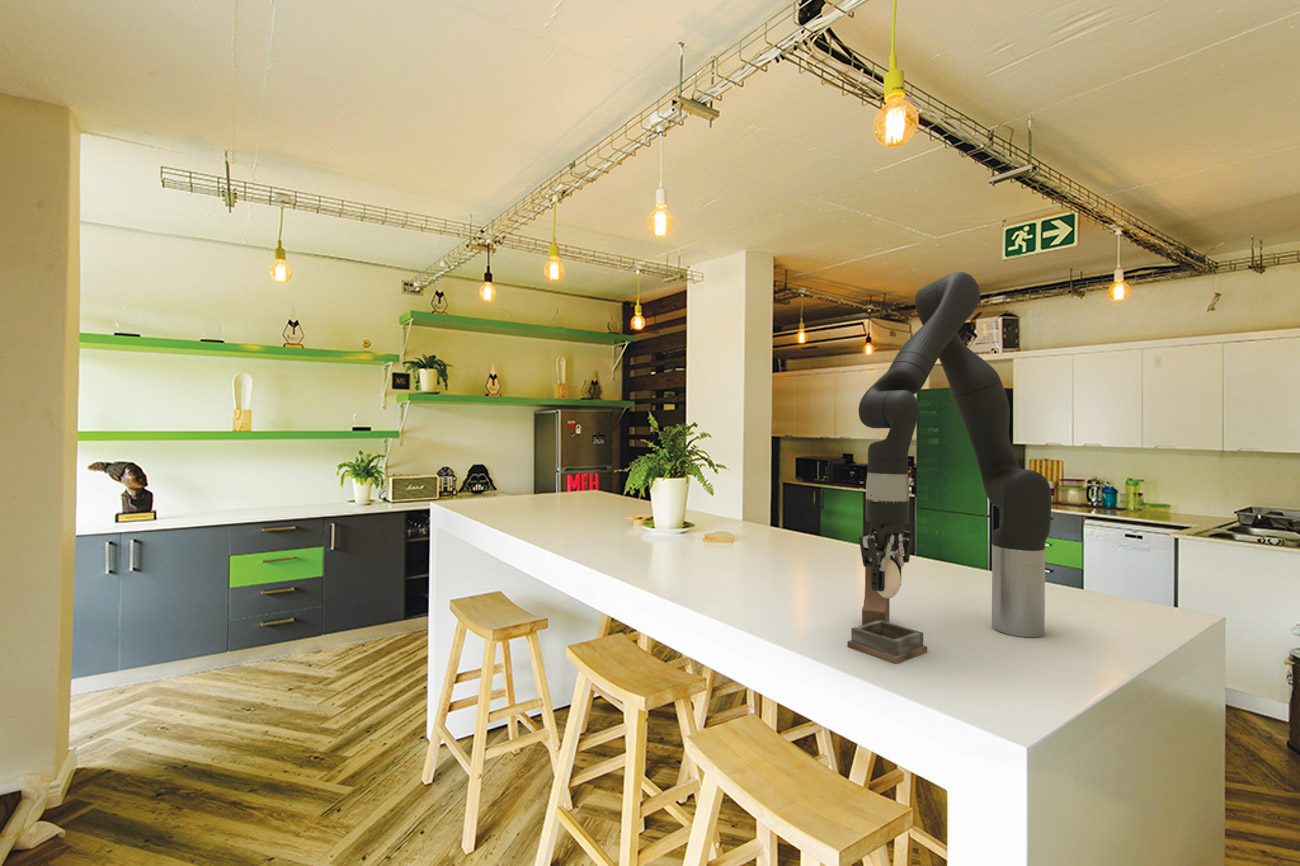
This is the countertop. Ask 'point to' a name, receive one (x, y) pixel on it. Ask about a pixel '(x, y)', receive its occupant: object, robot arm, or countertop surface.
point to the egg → (891, 580)
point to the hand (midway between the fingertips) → (886, 587)
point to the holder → (887, 641)
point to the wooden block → (874, 601)
